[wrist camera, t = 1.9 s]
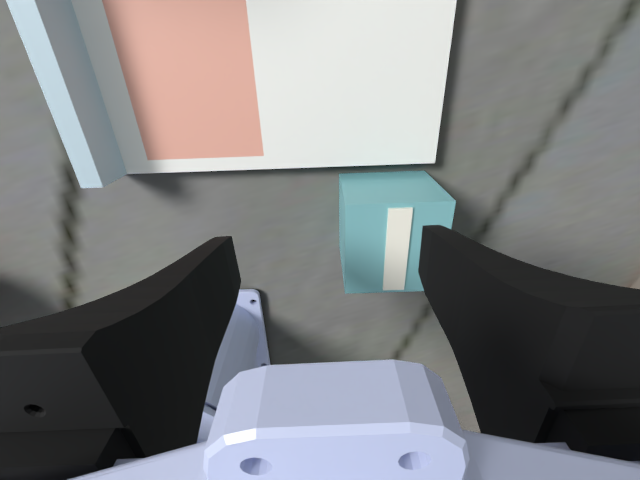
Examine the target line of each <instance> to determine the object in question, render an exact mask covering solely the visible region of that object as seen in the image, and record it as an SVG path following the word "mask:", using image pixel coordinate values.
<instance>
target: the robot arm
mask: <svg viewBox="0 0 640 480" xmlns="http://www.w3.org/2000/svg"><path fill="white" fill-rule="evenodd" d="M418 273H419V276H420V280H421V283H422V286H423V289H424V292H425V294H426V296H427V298H428V300H429V302H430V304H431V306H432V309H433V311H434V312H435V314H436V316H437V318H438V320H439V322H440V324H441V326H442V328H443V330H444V332H445V334H446V336H447V338H448V340H449V342H450V345H451V347H452V349H453V352H454V354H455V357H456V360H457V362H458V365H459V368H460V371H461V373H462V376H463V379H464V382H465V385H466V388H467V391H468V394H469V397H470V399H471V402H472V406H473V409H474V412H475V415H476V418H477V422H478V425H479V428H480V431H481V433H477V432H472V431H467V430H462V429H461V427H460V424H459V422H458V419H457V417H456V414H455V411H454V409H453V406H452V404H451V401H450V399H449V396H448V394H447V391H446V389H445V386H444V384H443V381H442V379H441V377H440V376H438V375H437V374H435V373H434V372H433V371H431V370H430V369H428V368H427V367H426V366H424V365H423V364H420V363H414V362H407V361H400V360H393V359H388V360H366V361H343V362H321V363H299V364H276V365H271V364H270V358H269V351H268V345H267V338H266V332H265V325H264V319H263V312H262V306H261V299H260V293H259V292H258V291H257V290H255V289H240V284H241V278H240V273H239V269H238V264H237V259H236V255H235V250H234V245H233V241H232V236H225V237H215V238H212V239H210V240H209V241H207V242H205V243H204V244H202V245H201V246H199V247H198V248H196V249H194V250H193V251H191V252H190V253H188V254H187V255H185V256H184V257H182V258H180V259H179V260H177V261H176V262H174V263H172V264H171V265H169V266H167V267H165V268H164V269H162V270H160V271H159V272H157V273H155V274H153V275H152V276H150V277H148V278H146V279H144V280H142V281H140V282H138V283H136V284H133V285H131V286H129V287H127V288H125V289H122V290H120V291H117V292H115V293H112V294H110V295H108V296H105V297H103V298H100V299H98V300H95V301H92V302H89V303H86V304H84V305H81V306H78V307H75V308H72V309H68V310H65V311H62V312H59V313H55V314H52V315H48V316H45V317H41V318H37V319H33V320H29V321H25V322H21V323H18V324H14V325H10V326H5V327H1V328H0V480H640V289H633V288H626V287H620V286H615V285H609V284H604V283H599V282H594V281H589V280H585V279H580V278H576V277H572V276H568V275H564V274H561V273H557V272H553V271H550V270H546V269H543V268H540V267H537V266H534V265H531V264H528V263H525V262H522V261H519V260H516V259H514V258H511V257H509V256H506V255H504V254H502V253H499V252H497V251H495V250H492V249H490V248H488V247H486V246H484V245H481V244H479V243H477V242H475V241H473V240H471V239H469V238H467V237H465V236H463V235H461V234H459V233H457V232H455V231H453V230H451V229H449V228H447V227H444V226H442V225H425V226H423V228H422V238H421V248H420V258H419V268H418ZM252 300H256V302H253V301H252ZM263 363H265V364H263Z"/></svg>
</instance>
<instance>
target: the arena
mask: <svg viewBox="0 0 640 480" xmlns="http://www.w3.org/2000/svg"><path fill="white" fill-rule="evenodd" d="M6 1H7V4H8V6H9V9H10V11H11V14H12V16H13V19H14V21H15V24H16V26H17V29H18V31H19V34H20V36H21V39H22V41H23V44H24V46H25V49H26V51H27V54H28V56H29V59H30V61H31V64H32V66H33V69H34V71H35V74H36V76H37V79H38V81H39V84H40V86H41V89H42V91H43V94H44V96H45V99H46V101H47V104H48V106H49V109H50V111H51V114H52V116H53V119H54V121H55V124H56V126H57V129H58V131H59V134H60V136H61V139H62V141H63V144H64V146H65V149H66V151H67V154H68V156H69V159H70V161H71V164H72V166H73V169H74V171H75V174H76V176H77V179H78V181H79V184H80V186H81V188H97V187H105V186H106V185H108V184H110V183H112V182H114V181H115V180H117V179H119V178H121V177H123V176H125V175H126V174H143V173H171V172H199V171H227V170H255V169H283V168H312V167H340V166H368V165H396V164H424V163H435V159H436V151H437V144H438V137H439V129H440V122H441V114H442V107H443V99H444V92H445V84H446V77H447V69H448V62H449V54H450V47H451V39H452V32H453V24H454V17H455V9H456V2H457V0H6Z"/></svg>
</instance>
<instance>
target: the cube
mask: <svg viewBox="0 0 640 480" xmlns="http://www.w3.org/2000/svg"><path fill="white" fill-rule="evenodd" d="M455 204H456V201H455V200H454V199H453V198H452V197H451V196H450V195H449V194H448V193H447V192H446V191H445V190H444V189H443V188H442V187H441V186H440V185H439V184H438V183H437V182H436V181H435V180H434V179H433V178H432V177H430V176H429V175H428V174H427V173H426V172H425V171H399V172H370V173H342V174H339V226H340V255H341V263H342V271H343V280H344V288H345V293H377V292H410V291H424V289H423V286H422V283H421V280H420V276H419V273H418V268H419V258H420V248H421V238H422V228H423V226H425V225H442V226H444V227H447V228H449V229H451V227H452V222H453V216H454V210H455Z"/></svg>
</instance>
